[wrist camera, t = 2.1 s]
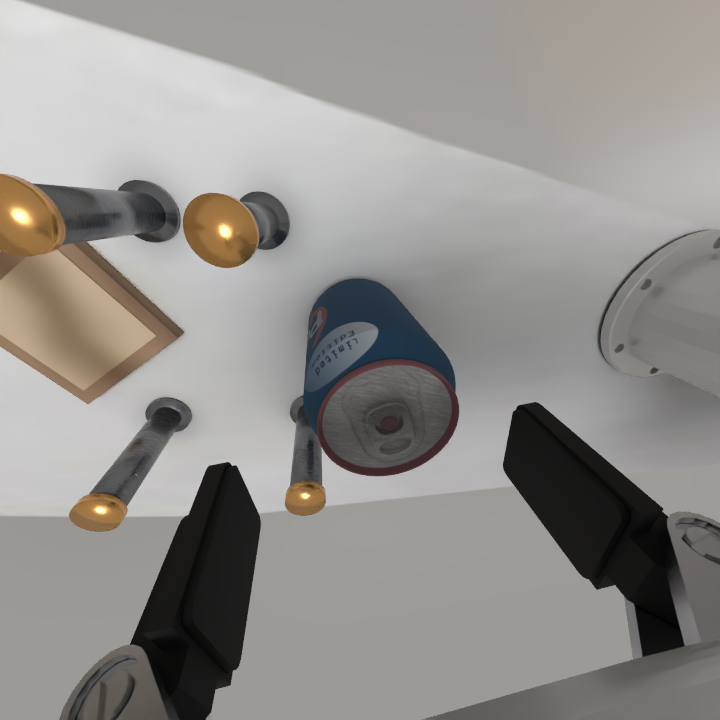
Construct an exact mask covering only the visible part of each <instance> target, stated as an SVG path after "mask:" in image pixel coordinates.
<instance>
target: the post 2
mask: <svg viewBox="0 0 720 720" xmlns="http://www.w3.org/2000/svg"><path fill="white" fill-rule="evenodd" d="M145 414H146V418H147V420H148V421H147V422H146V423H145V425H144V426H143V427H142V428H141V430H140V431H139V432H138V433H137V435H136V436H135V437H134V438H133V440H132V441H131V442H130V443H129V445H128V446H127V447H126V448H125V450H124V451H123V452H122V454H121V455H120V456H119V457H118V459H117V460H116V461H115V462H114V464H113V465H112V466H111V467H110V469H109V470H108V471H107V472H106V474H105V475H104V476H103V477H102V479H101V480H100V481H99V482H98V484H97V485H96V486H95V487H94V489H93V490H92V491H91V492H90V494H89V495H86V496H84V497H82V498H81V499H80V500H79V501H78V502H77V503H76V505H75V506H74V507H73V508H72V510H71V511H70V513H69V517H70V519H71V521H72V522H73V523H74V524H75V525H77V526H78V527H81V528H83V529H86V530H89V531H97V532H103V531H109V530H113V529H115V528H117V527H118V526H119V525H120V523H121V522H122V520H123V519H124V517H125V515H126V514H127V505H128V504H129V502H130V501H131V499H132V497H133V496H134V494H135V493H136V491H137V490H138V488H139V486H140V485H141V483H142V482H143V480H144V479H145V477H146V475H147V474H148V472H149V471H150V469H151V468H152V466H153V465H154V463H155V461H156V460H157V458H158V457H159V455H160V454H161V452H162V450H163V449H164V447H165V446H166V444H167V443H168V441H169V439H170V438H171V436H172V435H173V433H174V432H178V431H181V430H183V429H185V428H186V427H187V426H188V424H189V423H190V421H191V417H192V415H191V411H190V409H189V408H188V407H187V406H186V405H185V404H184V403H182V402H181V401H179V400H176V399H172V398H160V399H157V400H155V401H153V402H152V403H151V404H150V405H149V406H148V407H147V409H146V413H145Z"/></svg>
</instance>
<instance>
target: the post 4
mask: <svg viewBox="0 0 720 720" xmlns="http://www.w3.org/2000/svg"><path fill="white" fill-rule="evenodd" d="M303 397H304V396H302V397H299V398H298V399H296V400H295V401H294V402H293V404H292V406H291V410H290V416H291V418H292V420H293V421H294V422H295V423H296V432H295V442H294V452H293V462H292V473H291V483H290V487H289V488H288V490H287V492H286V499H285V506H286V508H287V510H288V511H290V512H291V513H293V514H295V515H301V516H306V515H312V514H315V513H317V512H319V511H320V510H321V509H322V508H323V507H324V506H325V503H326V496H325V489H324V487H323V486H322V450H321V444H320V442H319V439H318V436H317V435H316V434H315V433H314V431H313V430H312V428H311V427H310V425H309V423H308V421H307V418H306V415H305V411H304V405H303Z"/></svg>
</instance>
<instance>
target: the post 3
mask: <svg viewBox="0 0 720 720" xmlns="http://www.w3.org/2000/svg"><path fill="white" fill-rule="evenodd" d="M183 228H184V233H185V236H186V239H187V241H188V243H189V245H190V246H191V248H192V249H193V251H194V252H195V253H196V254H197V255H198V256H199V257H200V258H202V259H203V260H204V261H206V262H208V263H210V264H212V265H214V266H218V267H223V268H232V267H236V266H239V265H241V264H243V263H245V262H246V261H247V260H249V259H250V258H251V257H252V256H253V255H254V253H255V252H256V250H257V248H258V249H264V250H268V249H273V248H275V247H277V246H279V245H280V244H281V243H282V242H283V241H284V240H285V239H286V237H287V235H288V232H289V217H288V214H287V211H286V209H285V208H284V206H283V205H282V203H281V202H280V201H279V200H278V199H276V198H275V197H274V196H272V195H270V194H267V193H264V192H251V193H249V194H246V195H245V196H243V197H242V198H241V199H240V201H239V200H237V199H236V198H233V197H231V196H228V195H224V194H218V193H207V194H203V195H200V196H198V197H196V198H195V199H193V200H192V201H191V202H190V203H189V205H188V206H187V208H186V210H185V213H184V217H183Z"/></svg>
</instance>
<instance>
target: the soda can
mask: <svg viewBox="0 0 720 720" xmlns="http://www.w3.org/2000/svg"><path fill="white" fill-rule="evenodd" d="M303 405H304V411H305V415H306V418H307V421H308V423H309V425H310V427H311V428H312V430H313V431H314V433H315V434H316V435H317V436H318V439H319V442H320V444H321V447H322V448H323V450H324V452H325V453H326V454H327V456H328V457H329V458H330V459H331V460H332V461H333V462H334V463H336V464H337V465H339V466H340V467H342V468H344V469H346V470H348V471H350V472H353V473H357V474H361V475H367V476H388V475H395V474H399V473H403V472H406V471H409V470H411V469H414V468H416V467H418V466H420V465H422V464H424V463H425V462H427V461H428V460H430V459H431V458H433V457H434V456H435V455H436V454H438V453H439V452H440V451H441V450H442V449H443V448H444V446H445V445H446V444H447V443H448V441H449V440H450V438H451V437H452V435H453V433H454V431H455V428H456V426H457V422H458V417H459V404H458V399H457V396H456V393H455V375H454V371H453V368H452V365H451V363H450V361H449V359H448V357H447V356H446V354H445V353H444V352H443V351H442V349H441V348H440V347H439V346H438V345H437V344H436V342H435V341H434V340H433V339H432V338H431V337H430V335H429V334H428V333H427V332H426V331H425V330H424V329H423V327H422V326H421V325H420V324H419V323H418V322H417V320H416V319H415V318H414V317H413V316H412V315H411V314H410V312H409V311H408V310H407V309H406V308H405V307H404V305H403V304H402V303H401V302H400V301H399V300H398V299H397V297H396V296H395V295H394V294H393V293H392V292H391V291H390V290H389V289H387V288H386V287H385V286H383V285H381V284H379V283H377V282H374V281H371V280H365V279H352V280H347V281H343V282H340V283H338V284H336V285H334V286H332V287H330V288H329V289H328V290H326V291H325V292H324V293H323V294H322V295H321V296H320V297H319V299H318V300H317V301H316V303H315V304H314V306H313V308H312V311H311V314H310V318H309V326H308V340H307V354H306V369H305V383H304V397H303Z"/></svg>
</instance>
